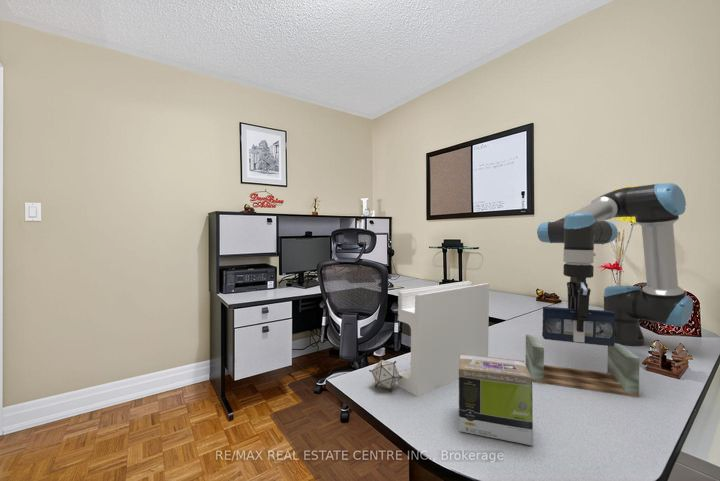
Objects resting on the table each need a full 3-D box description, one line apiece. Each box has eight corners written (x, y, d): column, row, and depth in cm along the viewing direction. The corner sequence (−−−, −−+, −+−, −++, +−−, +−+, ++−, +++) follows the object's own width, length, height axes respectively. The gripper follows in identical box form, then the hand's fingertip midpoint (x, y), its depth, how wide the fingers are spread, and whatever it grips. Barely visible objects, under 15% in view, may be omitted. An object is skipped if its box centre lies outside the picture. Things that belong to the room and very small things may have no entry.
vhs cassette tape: (543, 339, 97) (543, 307, 96) (541, 336, 99) (542, 305, 99) (615, 347, 90) (616, 313, 90) (611, 344, 93) (611, 311, 93)
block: (418, 396, 84) (418, 295, 84) (397, 385, 91) (398, 290, 90) (488, 365, 106) (489, 283, 105) (467, 357, 112) (468, 280, 111)
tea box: (524, 420, 74) (525, 359, 74) (533, 448, 64) (534, 378, 64) (458, 408, 79) (459, 351, 79) (457, 432, 69) (458, 367, 69)
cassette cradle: (618, 378, 96) (619, 343, 96) (638, 397, 85) (639, 358, 85) (525, 365, 105) (525, 334, 105) (532, 381, 94) (532, 346, 93)
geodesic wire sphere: (384, 404, 88) (374, 385, 82) (371, 381, 95) (360, 362, 89) (410, 385, 89) (401, 365, 84) (395, 364, 96) (386, 345, 91)
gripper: (603, 266, 86) (601, 350, 86) (583, 262, 100) (582, 333, 101) (571, 265, 88) (570, 347, 89) (557, 261, 103) (556, 331, 103)
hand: (577, 339), depth 95 cm, fingers closed on vhs cassette tape, 2 cm apart
